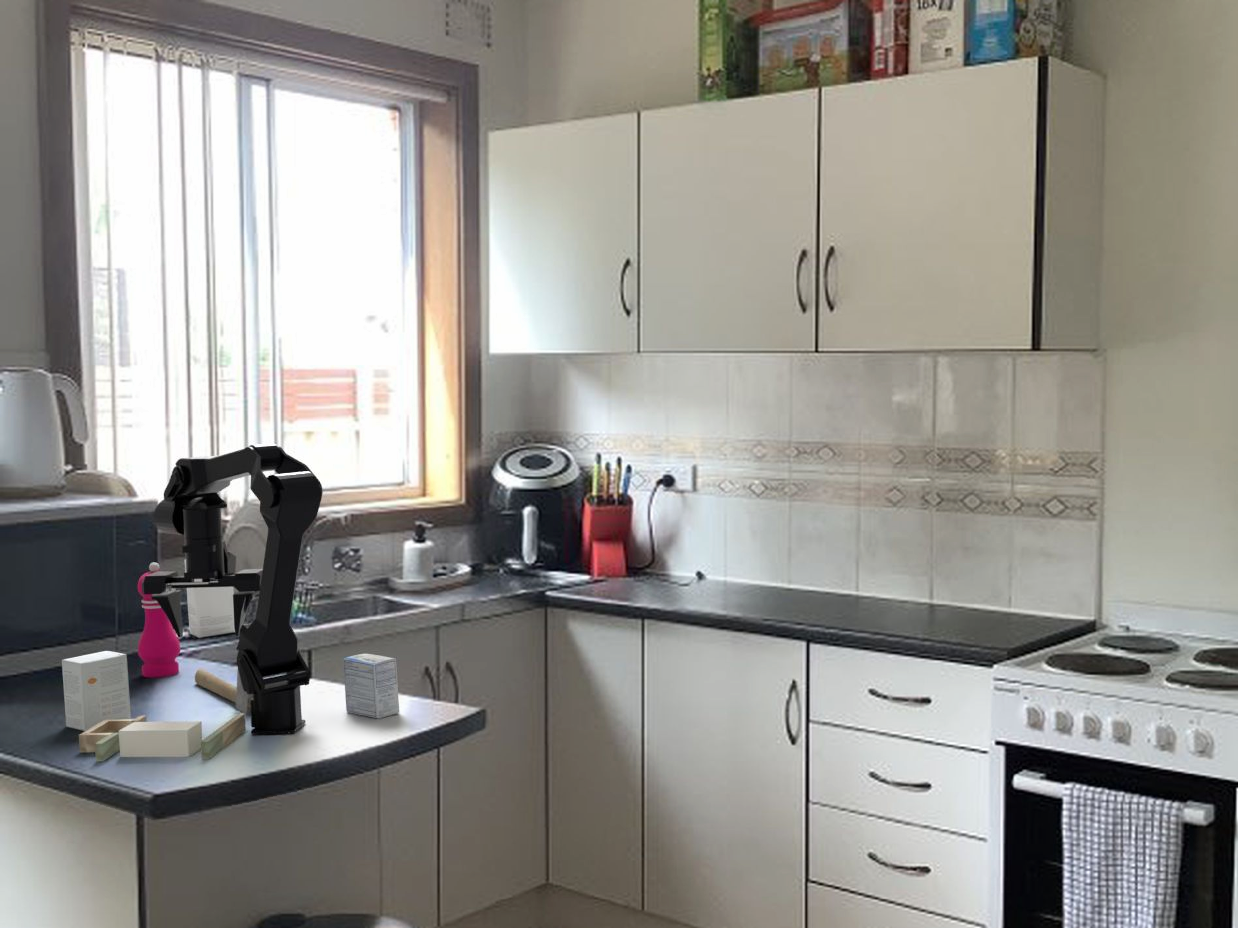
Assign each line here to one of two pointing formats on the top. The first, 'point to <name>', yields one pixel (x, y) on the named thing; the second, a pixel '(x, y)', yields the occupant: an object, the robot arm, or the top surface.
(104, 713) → the small box
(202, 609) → the skincare box
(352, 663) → the medicine box
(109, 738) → the u-shaped wooden frame
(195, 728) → the cream block
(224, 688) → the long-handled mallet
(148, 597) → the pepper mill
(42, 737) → the top surface
